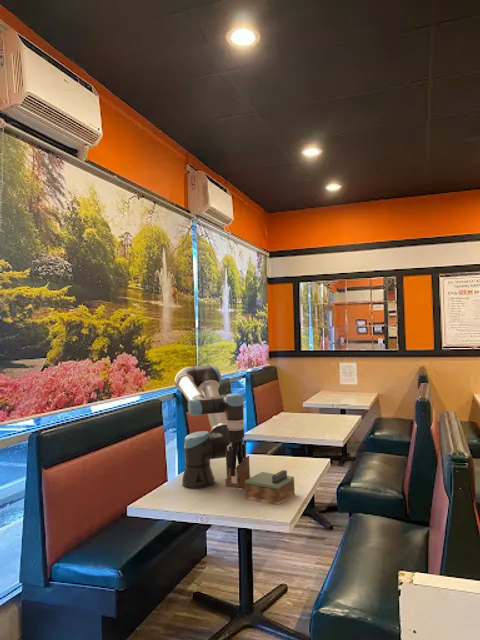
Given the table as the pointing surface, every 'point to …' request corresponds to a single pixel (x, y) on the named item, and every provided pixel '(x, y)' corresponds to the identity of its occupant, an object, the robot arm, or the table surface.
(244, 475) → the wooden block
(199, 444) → the robot arm
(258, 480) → the lid
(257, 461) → the table surface
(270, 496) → the wooden box
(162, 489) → the table surface
